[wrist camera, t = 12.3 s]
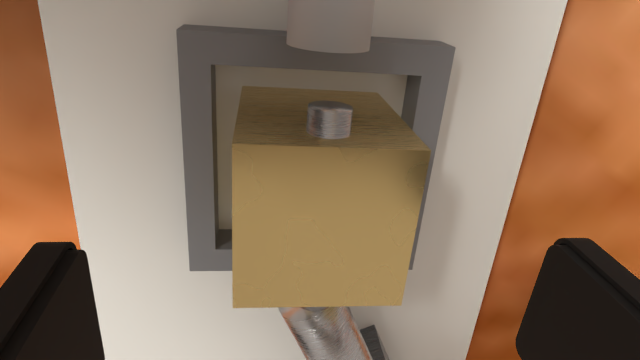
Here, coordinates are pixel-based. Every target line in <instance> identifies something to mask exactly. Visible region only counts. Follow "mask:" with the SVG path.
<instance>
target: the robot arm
mask: <svg viewBox="0 0 640 360" xmlns="http://www.w3.org/2000/svg"><path fill="white" fill-rule="evenodd" d="M516 348H517V351H518V354H519V356H520V357H521V359H522V360H640V280H639V279H638V278H637V277H636V276H634V275H633V274H632V273H631V272H630V271H628V270H627V269H626V268H625V267H624V266H622V265H621V264H620V263H619V262H618V261H616V260H615V259H614V258H613V257H612V256H610V255H609V254H608V253H607V252H606V251H604V250H603V249H602V248H601V247H599V246H598V245H597V244H596V243H595V242H593V241H592V240H590V239H588V238H561V239H558V240H557V241H556V242H555V243H554V245H552V246H550V247H549V248H548V250H547V252H546V255H545V258H544V261H543V264H542V267H541V269H540V272H539V275H538V278H537V281H536V283H535V286H534V289H533V292H532V295H531V298H530V300H529V303H528V306H527V309H526V312H525V314H524V317H523V320H522V323H521V326H520V328H519V331H518V334H517V337H516ZM0 360H105V354H104V349H103V343H102V337H101V332H100V326H99V321H98V315H97V309H96V304H95V298H94V292H93V287H92V281H91V275H90V270H89V264H88V258H87V254H86V252H85V251H84V250H77V249H76V246H75V245H74V243H72V242H38V243H36V244H35V245H33V246H32V248H31V249H30V250H29V252H28V253H27V254H26V255H25V257H24V258H23V259H22V261H21V262H20V263H19V265H18V266H17V267H16V268H15V270H14V271H13V272H12V274H11V275H10V276H9V277H8V279H7V280H6V281H5V283H4V284H3V285H2V286H1V288H0Z"/></svg>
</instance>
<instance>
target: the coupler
mask: <svg viewBox="0 0 640 360" xmlns="http://www.w3.org/2000/svg"><path fill="white" fill-rule="evenodd" d="M430 155H431V150H430V149H429V148H428V147H427V145H426V144H425V143H424V142H423V141H422V140H421V139H420V138H419V137H418V136H417V135H416V134H415V132H414V131H413V130H412V129H411V128H410V127H409V126H408V125H407V124H406V123H405V122H404V121H403V120H402V118H401V117H400V116H399V115H398V114H397V113H396V112H395V111H394V110H393V109H392V108H391V107H390V105H389V104H388V103H387V102H386V101H385V100H384V99H383V98H382V97H381V96H380V95H379V94H378V93H377V92H357V91H337V90H317V89H297V88H277V87H257V86H242V91H241V96H240V102H239V107H238V113H237V118H236V124H235V129H234V135H233V140H232V297H233V308H277V307H301V308H302V309H304V310H307V311H322V310H325V309H326V308H328V307H341V306H401V305H402V299H403V294H404V289H405V284H406V279H407V274H408V268H409V263H410V258H411V253H412V248H413V243H414V237H415V232H416V227H417V222H418V217H419V212H420V206H421V201H422V196H423V191H424V186H425V181H426V175H427V170H428V165H429V160H430Z"/></svg>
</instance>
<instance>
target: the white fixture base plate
mask: <svg viewBox="0 0 640 360" xmlns="http://www.w3.org/2000/svg"><path fill="white" fill-rule="evenodd" d="M567 1H568V0H38V6H39V11H40V17H41V23H42V29H43V34H44V40H45V46H46V52H47V57H48V63H49V69H50V75H51V80H52V86H53V92H54V97H55V103H56V109H57V115H58V120H59V126H60V132H61V138H62V143H63V149H64V155H65V161H66V166H67V172H68V178H69V184H70V189H71V195H72V201H73V207H74V212H75V218H76V224H77V230H78V235H79V241H80V247H81V250H84V251H85V252H86V254H87V258H88V264H89V270H90V275H91V281H92V287H93V292H94V298H95V304H96V309H97V315H98V321H99V326H100V332H101V337H102V343H103V349H104V354H105V360H306V358H305V357H304V355H303V353H302V351H301V349H300V347H299V346H298V344H297V342H296V340H295V338H294V337H293V335H292V333H291V331H290V329H289V328H288V326H287V324H286V322H285V320H284V319H283V317H282V315H281V313H280V311H279V308H278V307H277V308H233V297H232V140H233V135H234V129H235V124H236V118H237V113H238V107H239V102H240V96H241V91H242V86H257V87H277V88H297V89H317V90H337V91H357V92H377V93H378V94H379V95H380V96H381V97H382V98H383V99H384V100H385V101H386V102H387V103H388V104H389V105H390V107H391V108H392V109H393V110H394V111H395V112H396V113H397V114H398V115H399V116H400V117H401V118H402V120H403V121H404V122H405V123H406V124H407V125H408V126H409V127H410V128H411V129H412V130H413V131H414V132H415V134H416V135H417V136H418V137H419V138H420V139H421V140H422V141H423V142H424V143H425V144H426V145H427V147H428V148H429V149H430V150H431V155H430V160H429V165H428V170H427V175H426V181H425V186H424V191H423V196H422V201H421V206H420V212H419V217H418V222H417V227H416V232H415V237H414V243H413V248H412V253H411V258H410V263H409V268H408V274H407V279H406V284H405V289H404V294H403V299H402V305H401V306H349V308H350V310H351V313H352V315H353V317H354V319H355V321H356V324H357V326H358V328H359V330H361V329H363V328H366V327H369V326H371V325H375V327H376V330H377V332H378V334H379V337H380V339H381V341H382V344H383V346H384V348H385V351H386V353H387V355H388V357H389V360H465V359H466V356H467V352H468V349H469V345H470V342H471V338H472V335H473V331H474V328H475V324H476V321H477V317H478V314H479V310H480V307H481V303H482V300H483V296H484V293H485V289H486V286H487V282H488V279H489V275H490V271H491V268H492V264H493V261H494V257H495V254H496V250H497V247H498V243H499V240H500V236H501V233H502V229H503V226H504V222H505V219H506V215H507V212H508V208H509V205H510V201H511V198H512V194H513V191H514V187H515V184H516V180H517V177H518V173H519V170H520V166H521V162H522V159H523V155H524V152H525V148H526V145H527V141H528V138H529V134H530V131H531V127H532V124H533V120H534V117H535V113H536V110H537V106H538V103H539V99H540V96H541V92H542V89H543V85H544V82H545V78H546V75H547V71H548V68H549V64H550V60H551V57H552V53H553V50H554V46H555V43H556V39H557V36H558V32H559V29H560V25H561V22H562V18H563V15H564V11H565V8H566V4H567Z"/></svg>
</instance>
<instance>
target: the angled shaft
mask: <svg viewBox="0 0 640 360" xmlns="http://www.w3.org/2000/svg"><path fill="white" fill-rule="evenodd" d="M278 308H279V311H280V313H281V315H282V317H283V319H284V320H285V322H286V324H287V326H288V328H289V329H290V331H291V333H292V335H293V337H294V338H295V340H296V342H297V344H298V346H299V347H300V349H301V351H302V353H303V355H304V357H305V358H306V360H389V357H388V355H387V353H386V351H385V348H384V346H383V344H382V341H381V339H380V337H379V334H378V332H377V330H376V327H375V325H371V326H369V327H366V328H363V329H361V330H359V328H358V326H357V324H356V321H355V319H354V317H353V315H352V313H351V310H350V308H349V306H341V307H328V308H326V309H325V310H322V311H307V310H304V309H302V308H301V307H278Z"/></svg>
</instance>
